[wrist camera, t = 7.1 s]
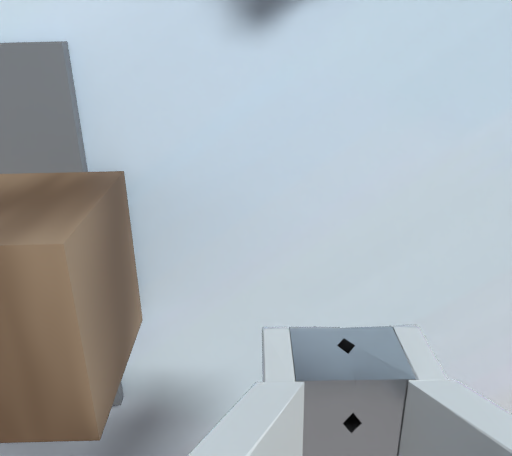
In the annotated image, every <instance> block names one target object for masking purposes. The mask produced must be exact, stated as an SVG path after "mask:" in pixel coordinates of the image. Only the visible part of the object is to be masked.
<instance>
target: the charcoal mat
mask: <svg viewBox="0 0 512 456" xmlns="http://www.w3.org/2000/svg"><path fill="white" fill-rule="evenodd" d="M67 172H88V170H87V164H86V158H85V151H84V145H83V139H82V132H81V126H80V120H79V113H78V107H77V101H76V95H75V88H74V82H73V76H72V69H71V63H70V57H69V50H68V44H67V41H66V42H22V43H0V174H20V173H67ZM122 400H123V391H122V385H121V382H120V385H119V388H118V390H117V393H116V396H115V399H114V402H113V405H121V403H122Z"/></svg>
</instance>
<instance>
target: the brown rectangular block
mask: <svg viewBox="0 0 512 456" xmlns="http://www.w3.org/2000/svg"><path fill="white" fill-rule="evenodd" d="M141 323H142V312H141V304H140V296H139V288H138V280H137V272H136V264H135V256H134V248H133V240H132V232H131V224H130V216H129V208H128V200H127V192H126V184H125V176H124V171H115V172H67V173H20V174H0V443H14V442H53V441H93V440H100V439H101V436H102V433H103V430H104V427H105V424H106V422H107V419H108V416H109V413H110V410H111V407H112V405H113V402H114V399H115V396H116V393H117V390H118V388H119V385H120V382H121V379H122V376H123V373H124V371H125V368H126V365H127V362H128V359H129V356H130V354H131V351H132V348H133V345H134V342H135V340H136V337H137V334H138V331H139V328H140V325H141Z"/></svg>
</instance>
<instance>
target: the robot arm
mask: <svg viewBox="0 0 512 456" xmlns="http://www.w3.org/2000/svg"><path fill="white" fill-rule="evenodd" d="M262 374H263V382H256V383H255V384H254V385H253V386H252V387H251V388H250V389H249V390H248V391H247V392H246V393H245V394H244V396H243V397H242V398H241V399H240V400H239V401H238V402H237V403H236V404H235V405H234V406H233V407H232V408H231V409H230V411H229V412H228V413H227V414H226V415H225V416H224V417H223V418H222V419H221V420H220V421H219V422H218V423H217V425H216V426H215V427H214V428H213V429H212V430H211V431H210V432H209V433H208V434H207V435H206V436H205V437H204V439H203V440H202V441H201V442H200V443H199V444H198V445H197V446H196V447H195V448H194V449H193V450H192V451H191V453H190V454H189V455H188V456H512V413H510V412H508V411H507V410H505V409H504V408H502V407H500V406H499V405H497V404H495V403H494V402H492V401H491V400H489V399H487V398H486V397H484V396H482V395H481V394H479V393H478V392H476V391H474V390H473V389H471V388H470V387H468V386H466V385H465V384H463V383H461V382H460V381H458V380H449V379H448V378H447V376H446V374H445V372H444V370H443V368H442V367H441V365H440V363H439V361H438V359H437V358H436V356H435V354H434V352H433V350H432V349H431V347H430V345H429V343H428V341H427V339H426V338H425V336H424V334H423V332H422V330H421V329H420V327H419V326H417V325H396V326H383V327H350V328H340V327H289V328H288V327H263V329H262Z"/></svg>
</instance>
